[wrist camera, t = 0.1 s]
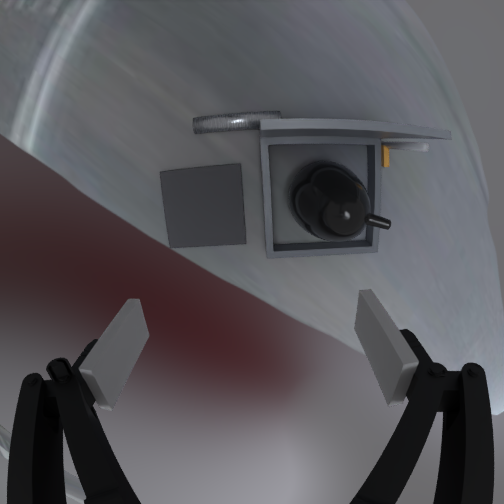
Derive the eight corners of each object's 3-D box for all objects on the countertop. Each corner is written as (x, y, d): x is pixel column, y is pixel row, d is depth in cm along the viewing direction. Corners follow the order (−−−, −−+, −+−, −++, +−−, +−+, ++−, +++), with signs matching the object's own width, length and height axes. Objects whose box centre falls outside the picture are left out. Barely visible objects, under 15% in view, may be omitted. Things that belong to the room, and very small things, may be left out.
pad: (160, 171, 41) (159, 172, 41) (240, 163, 40) (240, 163, 40) (170, 247, 45) (169, 248, 45) (246, 243, 45) (246, 243, 44)
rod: (196, 135, 39) (193, 132, 37) (196, 119, 39) (192, 116, 36) (280, 128, 39) (281, 125, 36) (279, 113, 38) (280, 108, 36)
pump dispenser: (345, 232, 44) (382, 273, 29) (280, 220, 43) (290, 258, 29) (359, 168, 40) (407, 181, 26) (292, 153, 40) (311, 156, 26)
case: (259, 133, 39) (260, 119, 20) (380, 134, 38) (461, 132, 19) (266, 251, 45) (271, 326, 26) (378, 245, 44) (441, 307, 25)
